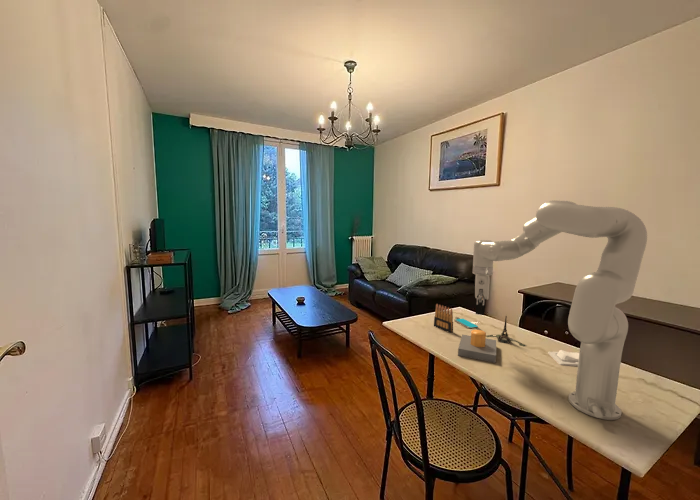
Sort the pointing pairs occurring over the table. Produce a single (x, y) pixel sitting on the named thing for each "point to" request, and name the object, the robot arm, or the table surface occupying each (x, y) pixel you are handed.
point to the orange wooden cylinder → (478, 338)
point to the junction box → (477, 349)
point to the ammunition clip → (444, 318)
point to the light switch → (565, 357)
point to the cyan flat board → (467, 323)
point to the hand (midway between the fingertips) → (480, 311)
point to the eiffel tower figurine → (505, 337)
